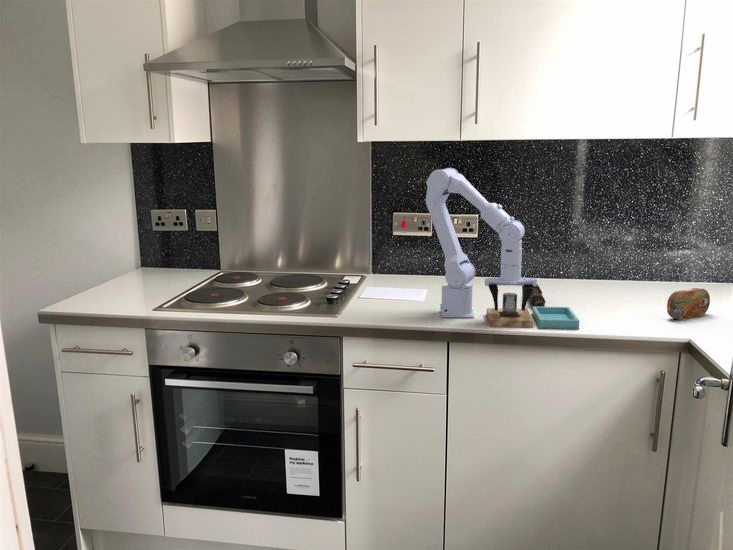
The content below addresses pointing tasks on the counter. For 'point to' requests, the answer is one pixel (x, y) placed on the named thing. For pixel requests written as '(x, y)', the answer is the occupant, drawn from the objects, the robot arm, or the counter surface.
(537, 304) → the bolt
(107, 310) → the counter surface
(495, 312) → the wooden socket board
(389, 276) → the counter surface
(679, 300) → the tin
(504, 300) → the pin
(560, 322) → the tray
